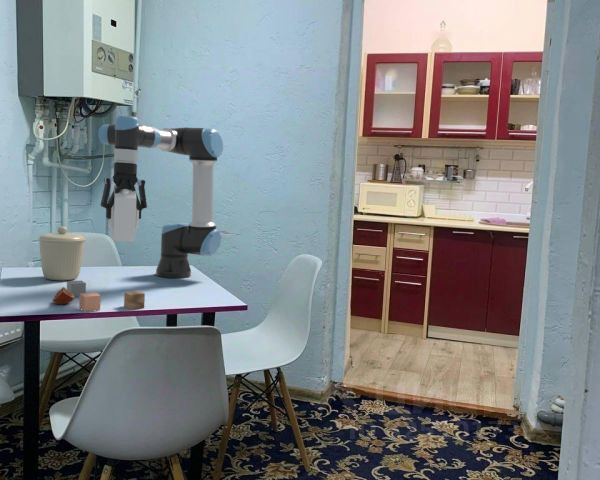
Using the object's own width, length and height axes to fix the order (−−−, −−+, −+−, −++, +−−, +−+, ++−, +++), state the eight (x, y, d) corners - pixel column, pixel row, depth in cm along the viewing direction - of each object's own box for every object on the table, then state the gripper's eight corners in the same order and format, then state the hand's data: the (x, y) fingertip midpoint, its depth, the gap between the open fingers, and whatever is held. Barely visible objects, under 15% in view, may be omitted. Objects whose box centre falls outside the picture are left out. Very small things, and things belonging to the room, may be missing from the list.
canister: (93, 276, 237) (94, 226, 235) (71, 284, 219) (73, 230, 217) (51, 273, 238) (52, 223, 236) (27, 280, 221) (28, 226, 218)
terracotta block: (94, 307, 186) (95, 292, 186) (100, 310, 182) (100, 295, 182) (79, 308, 183) (79, 293, 183) (84, 312, 179) (84, 296, 179)
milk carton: (111, 239, 199) (112, 184, 197) (132, 239, 202) (134, 185, 200) (113, 241, 192) (115, 185, 190) (135, 242, 195) (136, 186, 193)
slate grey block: (81, 294, 204) (81, 280, 203) (85, 297, 200) (85, 283, 200) (66, 295, 201) (67, 281, 200) (70, 298, 197) (71, 283, 197)
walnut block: (138, 305, 193) (138, 290, 193) (144, 308, 190) (144, 293, 189) (124, 306, 190) (124, 291, 190) (129, 309, 186) (130, 294, 186)
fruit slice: (53, 300, 191) (53, 286, 191) (74, 300, 193) (75, 286, 193) (51, 306, 183) (52, 291, 183) (74, 306, 186) (74, 291, 185)
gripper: (150, 164, 204) (147, 227, 206) (91, 159, 191) (89, 227, 193) (159, 164, 198) (156, 229, 200) (98, 160, 185) (96, 229, 187)
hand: (123, 228), depth 197 cm, fingers closed on milk carton, 8 cm apart
